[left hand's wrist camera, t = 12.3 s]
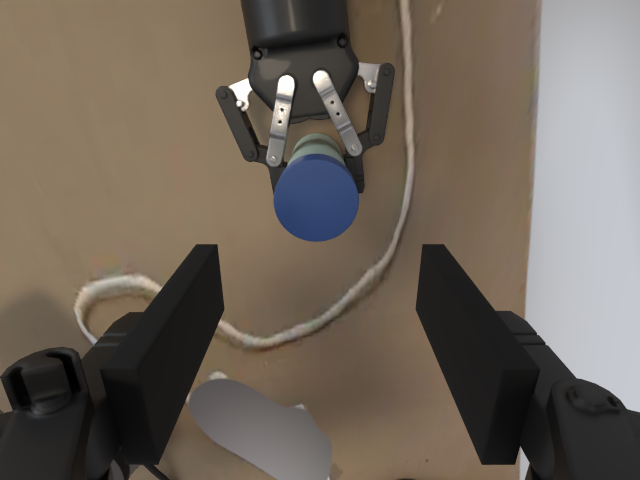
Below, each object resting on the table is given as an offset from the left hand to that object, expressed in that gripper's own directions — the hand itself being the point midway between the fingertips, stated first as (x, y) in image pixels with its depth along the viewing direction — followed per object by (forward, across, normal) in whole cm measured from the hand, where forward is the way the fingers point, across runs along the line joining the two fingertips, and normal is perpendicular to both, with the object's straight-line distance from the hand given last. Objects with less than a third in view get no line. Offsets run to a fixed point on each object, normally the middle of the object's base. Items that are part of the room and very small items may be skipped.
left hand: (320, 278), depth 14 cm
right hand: (+20, 0, -3) cm, 20 cm away
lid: (+11, 0, 0) cm, 11 cm away
